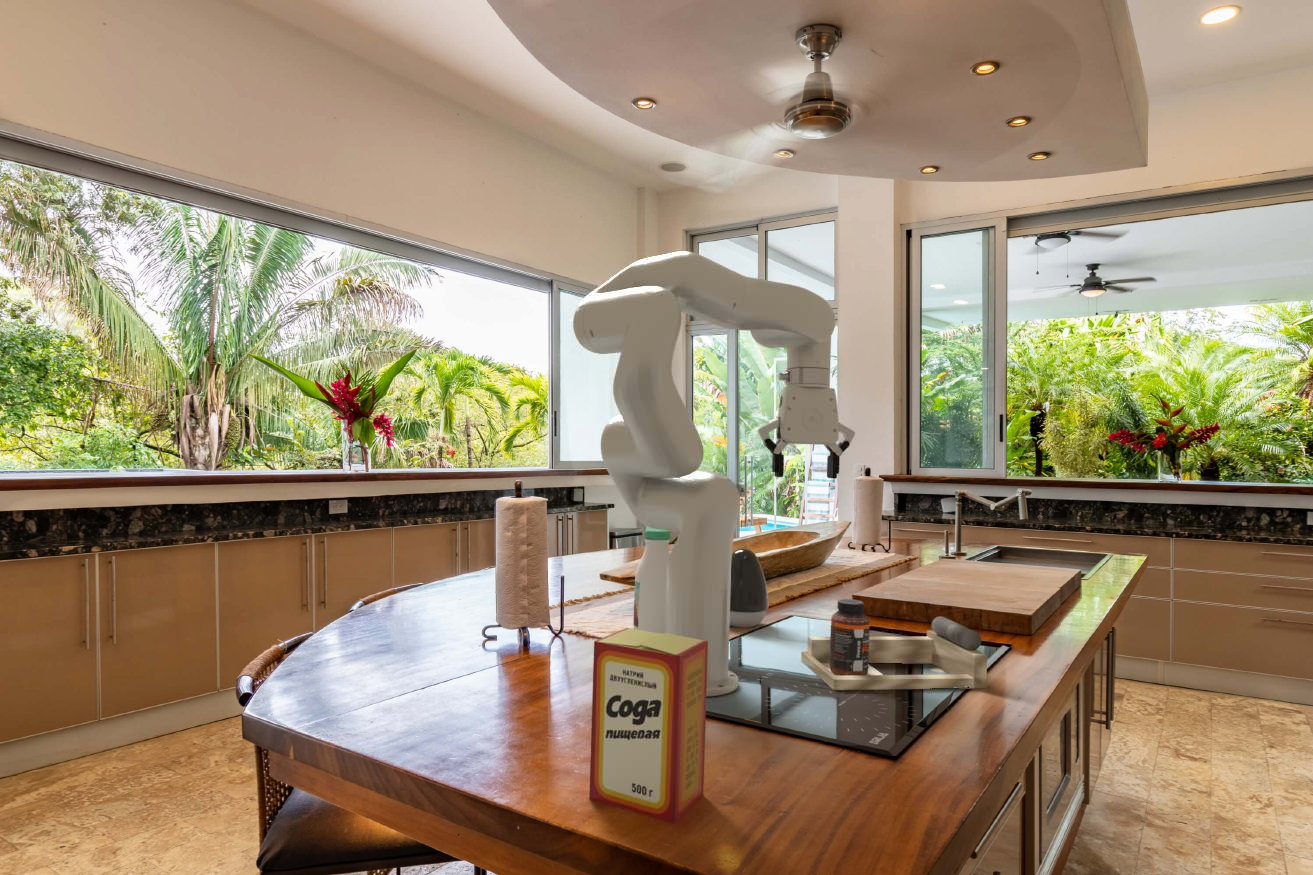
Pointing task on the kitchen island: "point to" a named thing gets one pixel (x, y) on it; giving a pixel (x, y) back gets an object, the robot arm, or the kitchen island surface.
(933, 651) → the bay
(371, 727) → the kitchen island surface
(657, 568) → the milk bottle
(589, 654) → the kitchen island surface
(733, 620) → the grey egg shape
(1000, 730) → the kitchen island surface
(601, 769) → the baking soda box
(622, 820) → the kitchen island surface
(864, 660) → the supplement bottle
